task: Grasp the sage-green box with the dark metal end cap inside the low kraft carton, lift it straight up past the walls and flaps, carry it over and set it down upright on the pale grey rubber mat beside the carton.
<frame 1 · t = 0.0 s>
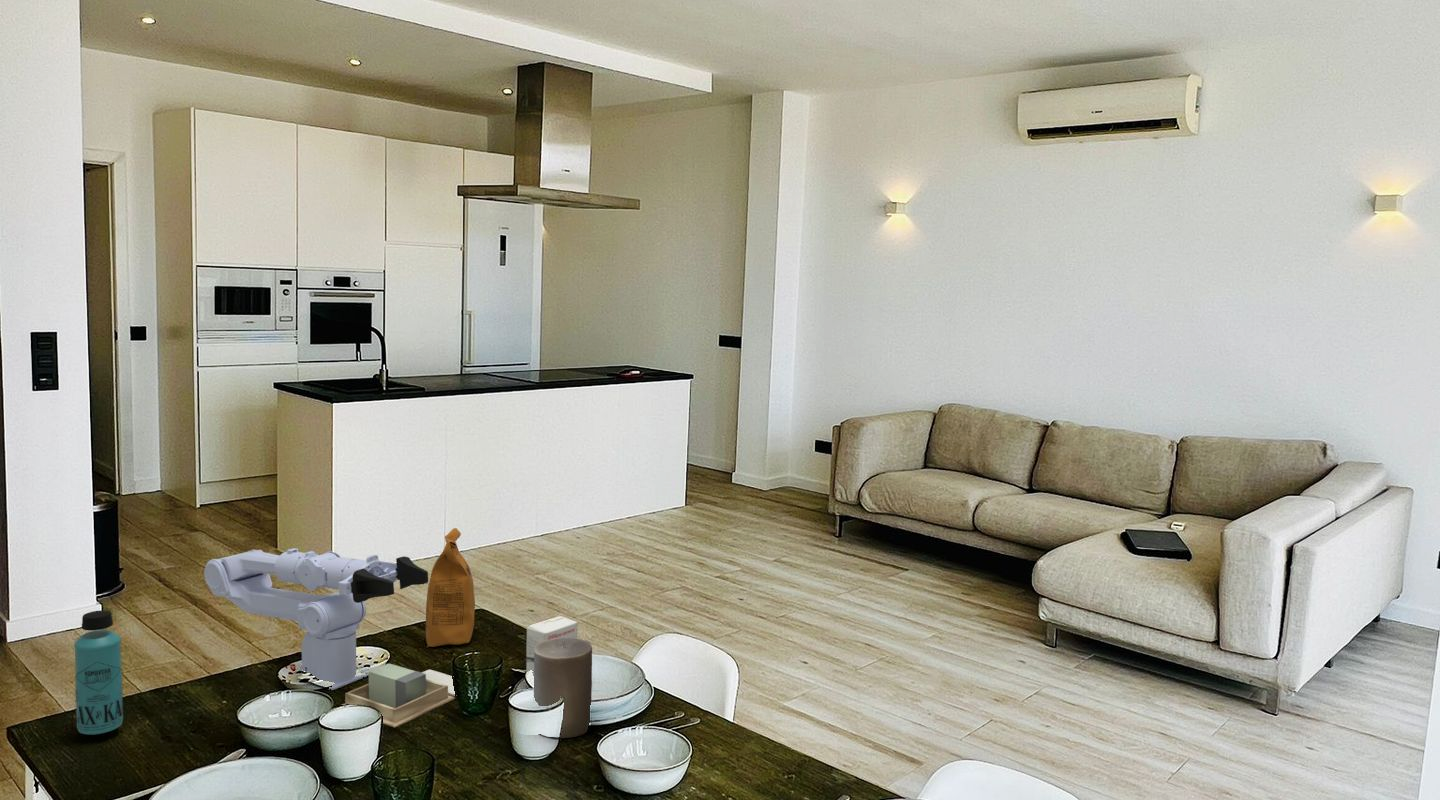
hand: (409, 582, 171), 22 cm above the table, tool horizontal, fingers open, 7 cm apart
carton: (397, 703, 174), on the table
coffee package: (451, 639, 205), on the table
beverage bottle: (101, 736, 158), on the table
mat: (441, 683, 183), on the table
pillar candle: (561, 727, 167), on the table
ink box: (551, 686, 183), on the table
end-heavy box: (397, 688, 173), in the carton
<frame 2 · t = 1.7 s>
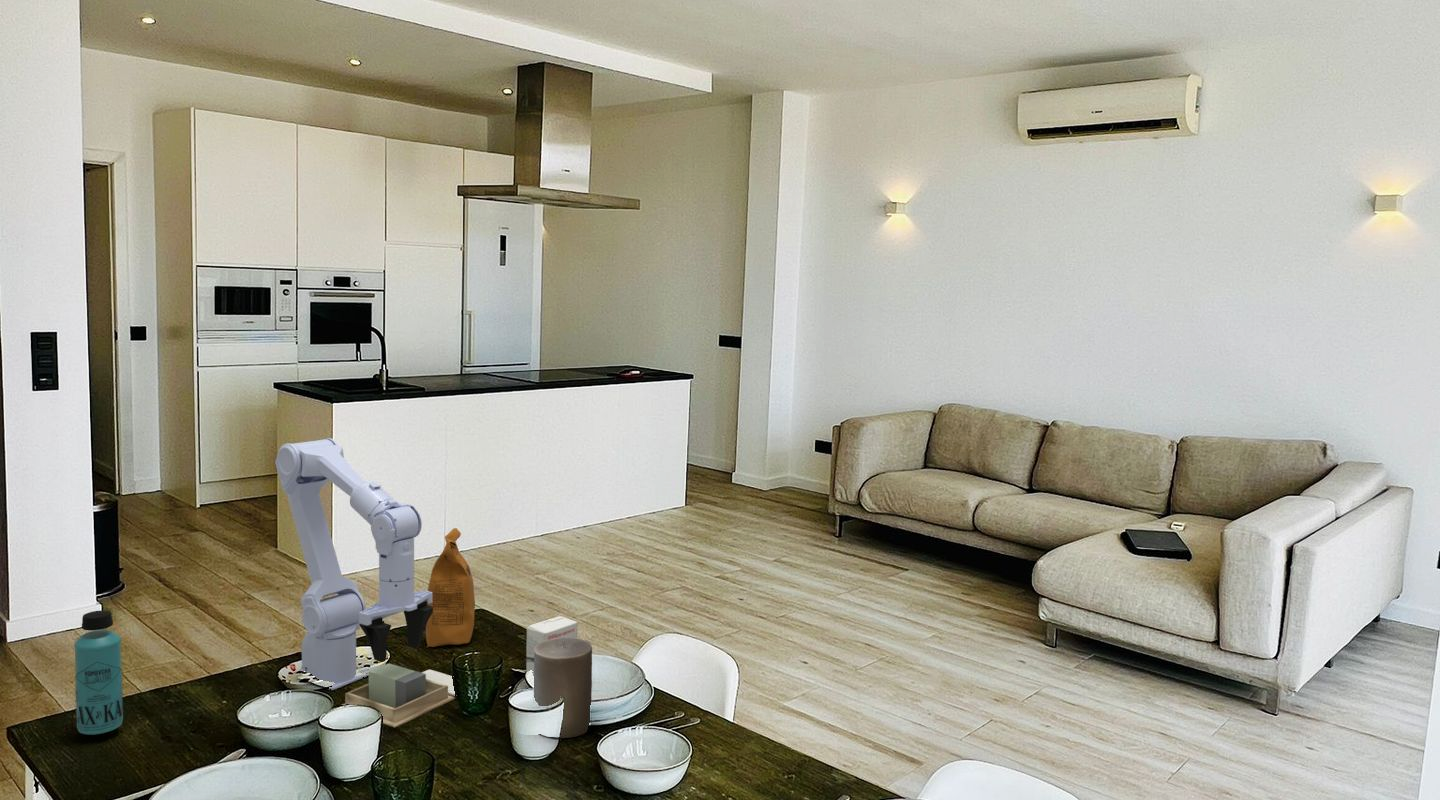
hand: (397, 653, 172), 9 cm above the table, tool pointing down, fingers open, 7 cm apart
nothing on the table moved.
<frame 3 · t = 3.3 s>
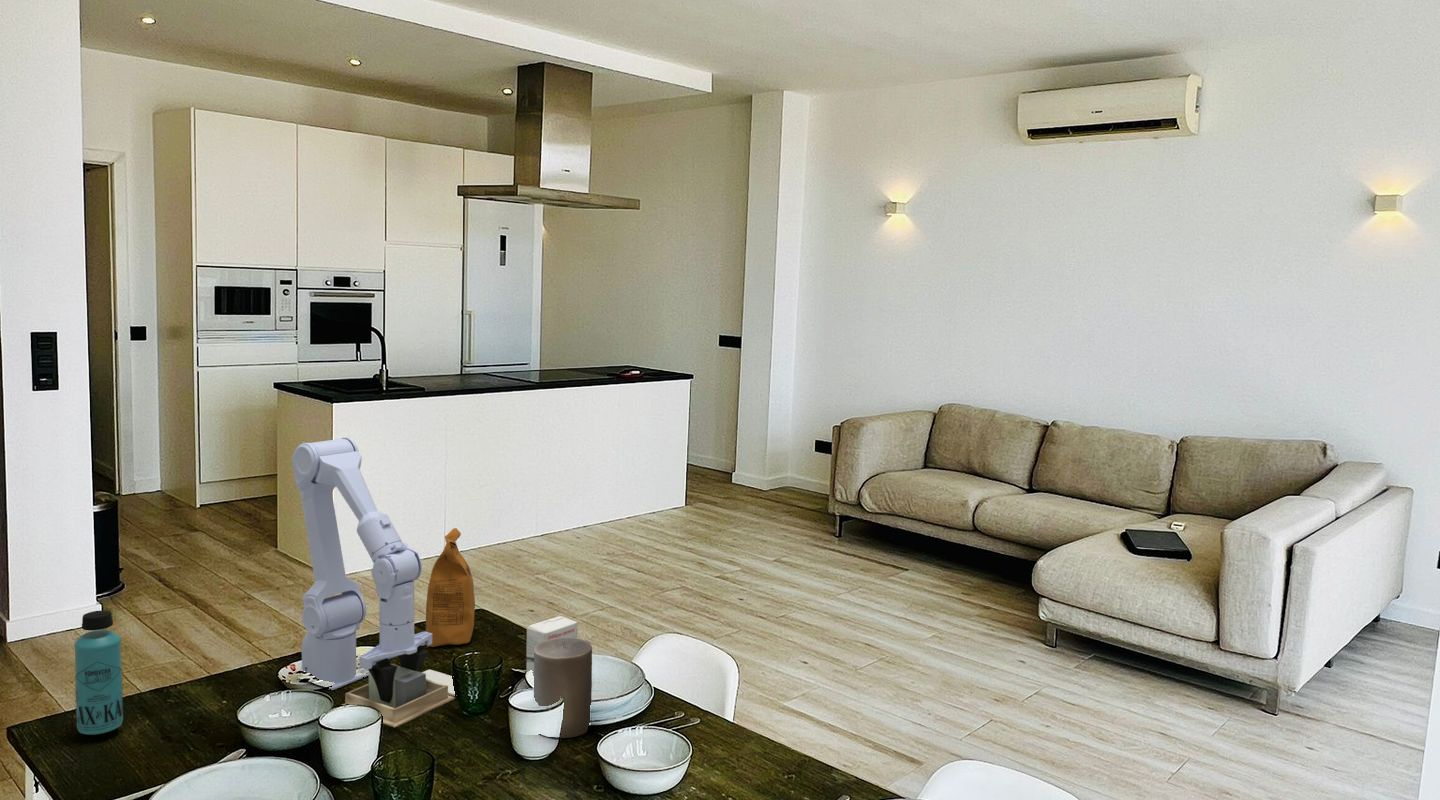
hand: (397, 695, 173), 1 cm above the table, tool pointing down, fingers closed on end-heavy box, 4 cm apart
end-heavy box: (397, 687, 173), in the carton, touching gripper
everything else where it was.
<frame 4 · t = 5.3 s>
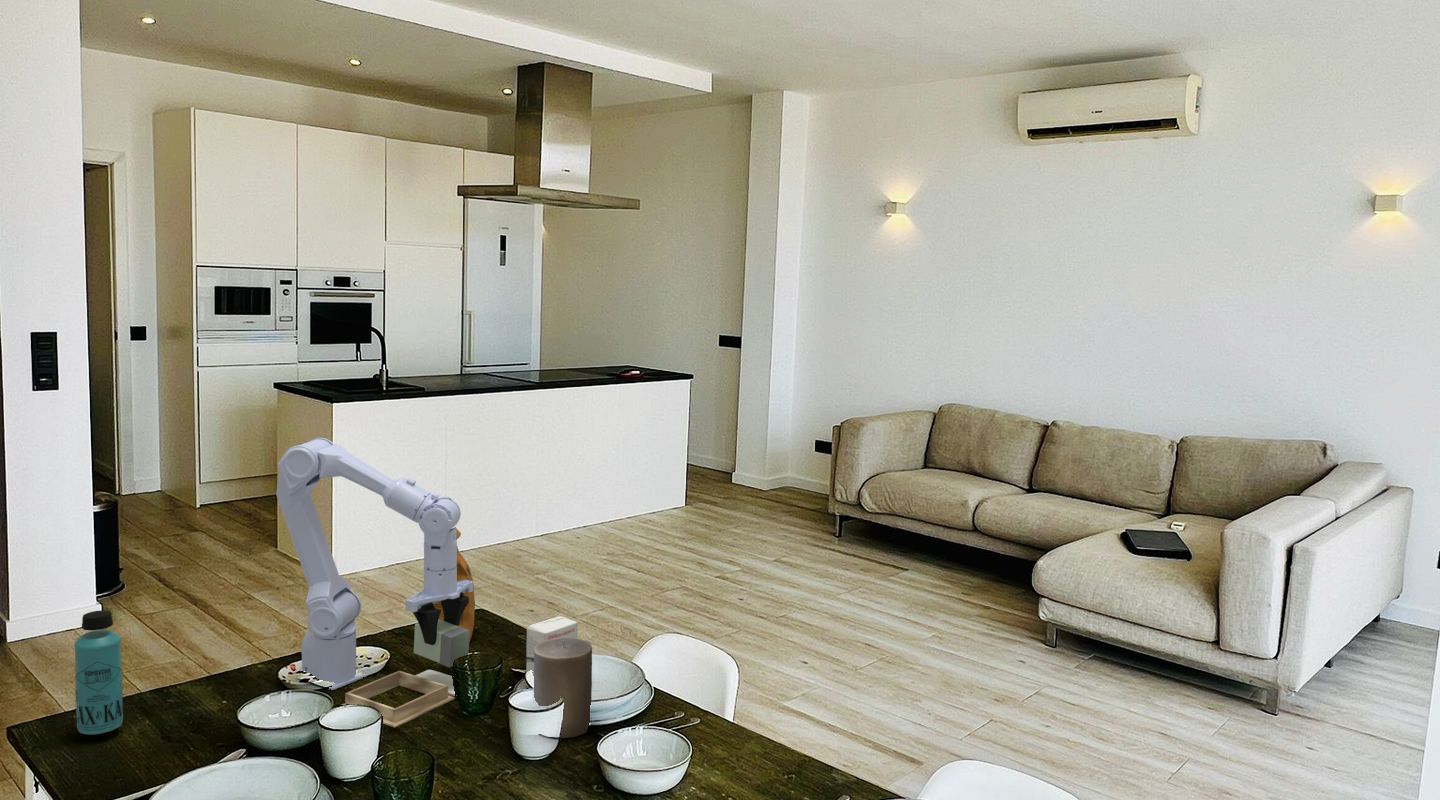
hand: (440, 639, 181), 8 cm above the table, tool pointing down, fingers closed on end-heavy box, 4 cm apart
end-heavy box: (441, 641, 181), point 8 cm above the table, touching gripper
everything else where it was.
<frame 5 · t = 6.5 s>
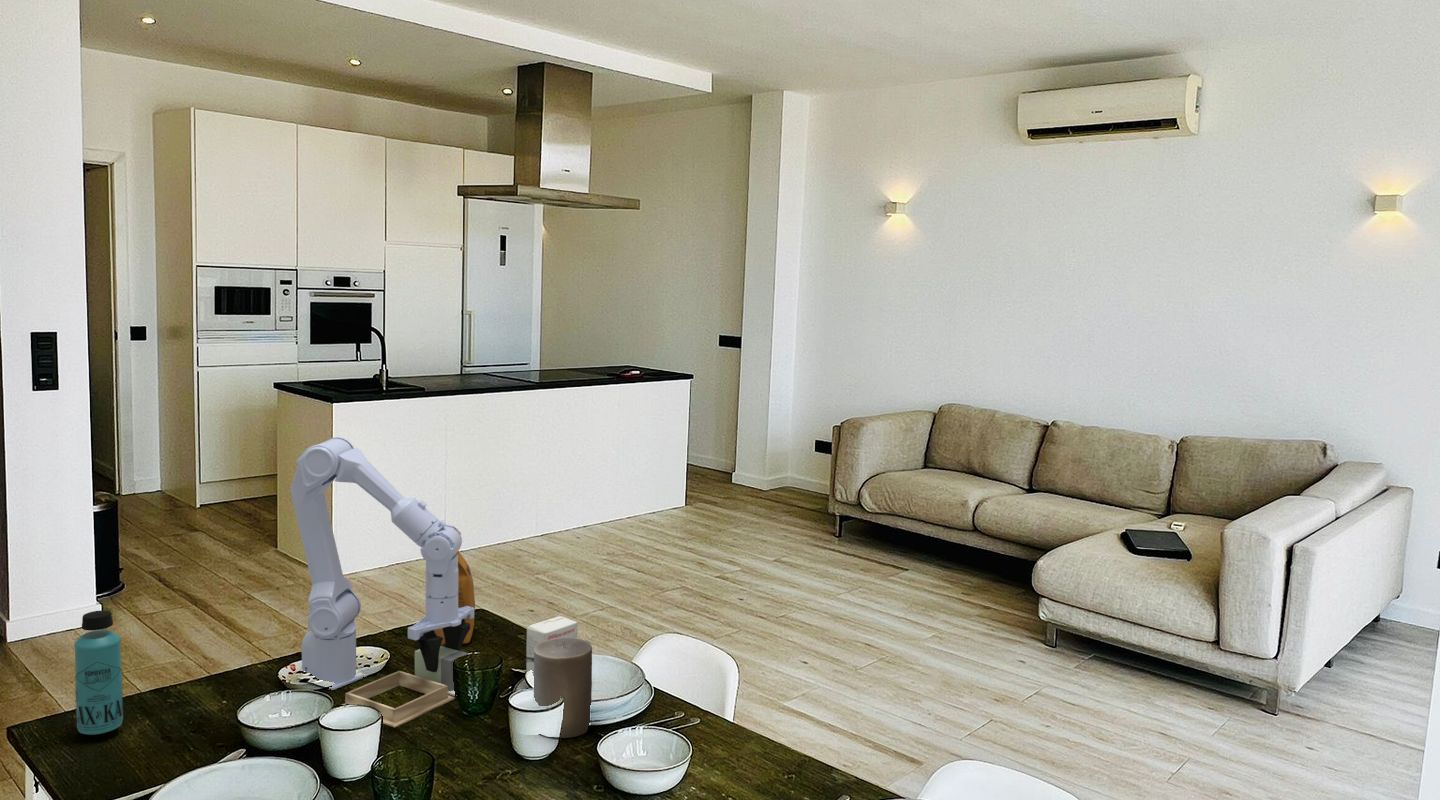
hand: (441, 666, 182), 3 cm above the table, tool pointing down, fingers closed on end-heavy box, 4 cm apart
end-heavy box: (441, 666, 182), resting on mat, touching gripper
everything else where it was.
when the fingers open (3 cm above the table, at t = 7.2 s): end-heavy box stays where it is, resting on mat.
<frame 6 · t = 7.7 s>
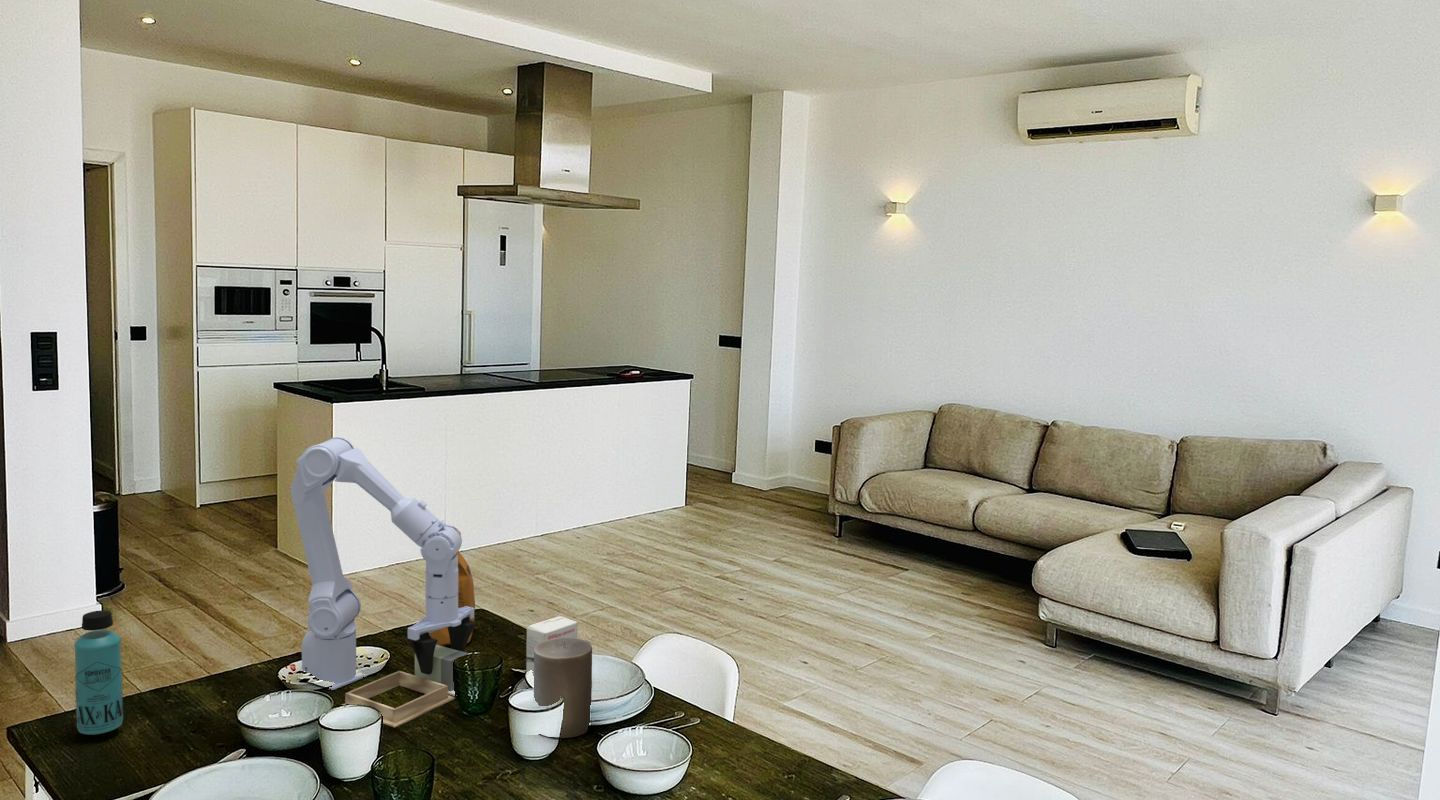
hand: (441, 666, 182), 3 cm above the table, tool pointing down, fingers open, 7 cm apart
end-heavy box: (441, 666, 182), resting on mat
everything else where it was.
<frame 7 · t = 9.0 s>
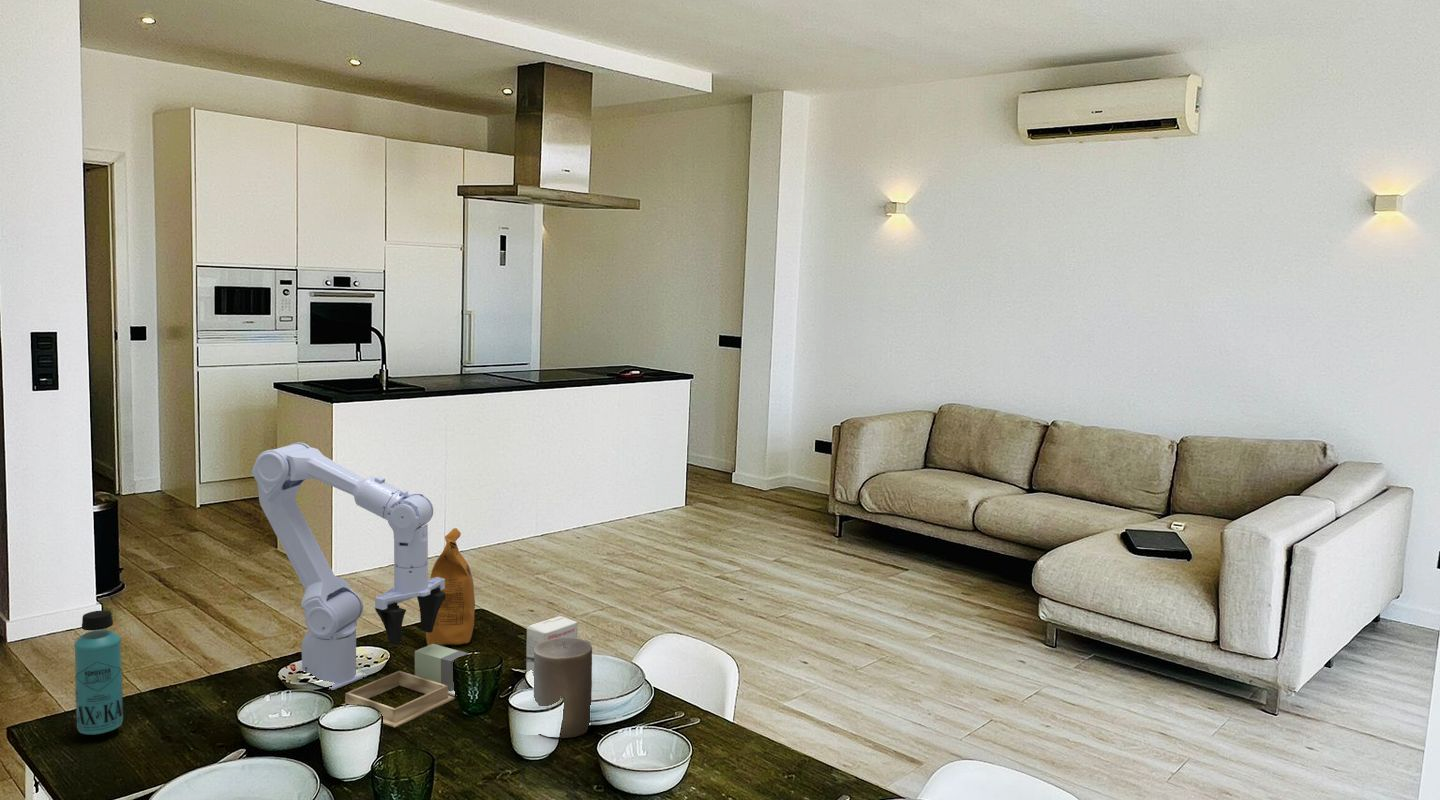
hand: (411, 637, 179), 9 cm above the table, tool pointing down, fingers open, 7 cm apart
nothing on the table moved.
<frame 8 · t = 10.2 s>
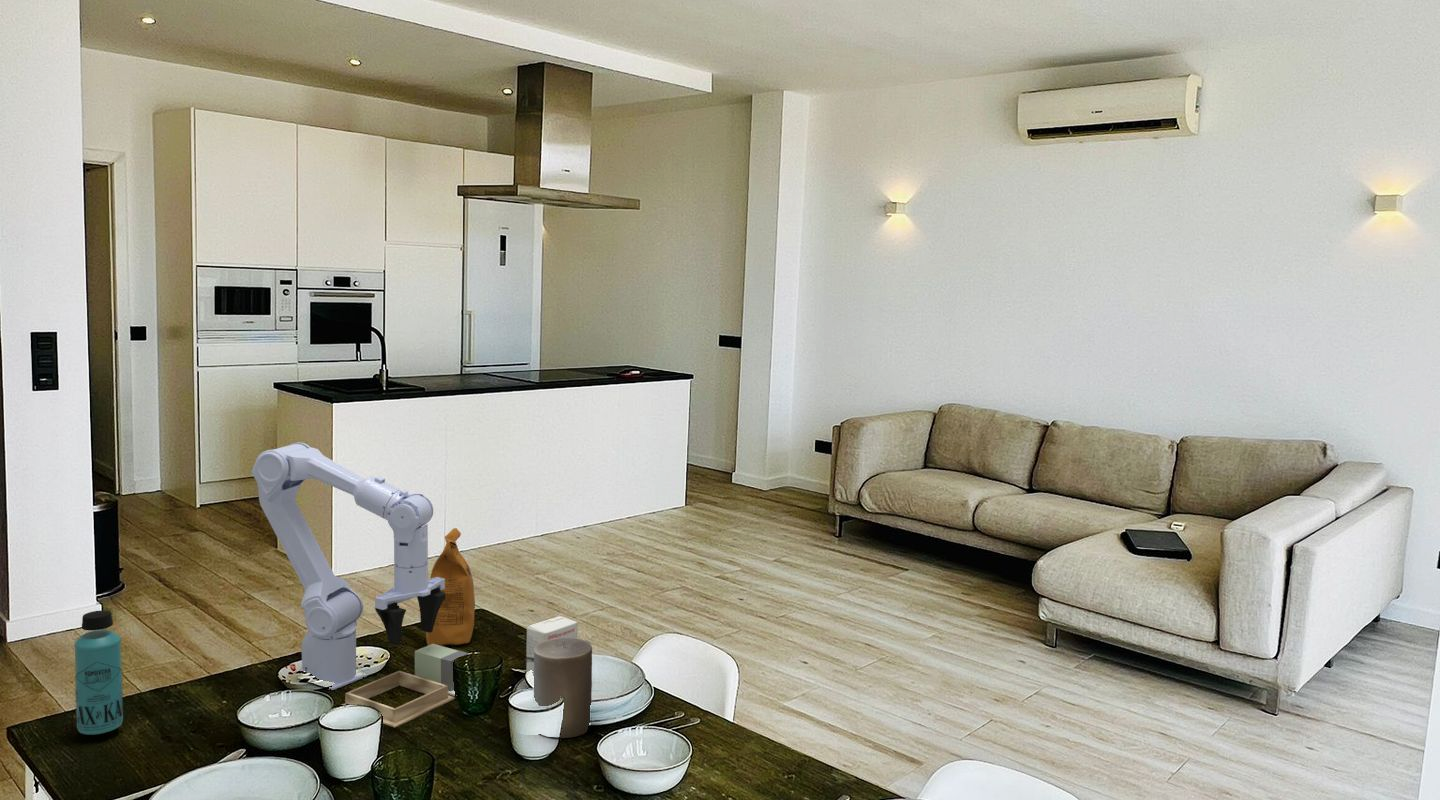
hand: (411, 637, 179), 9 cm above the table, tool pointing down, fingers open, 7 cm apart
nothing on the table moved.
at the end: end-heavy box 0.0 cm off-centre on the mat, point 3.1 cm above the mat's base; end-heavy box tilted 0°; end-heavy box touching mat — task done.
